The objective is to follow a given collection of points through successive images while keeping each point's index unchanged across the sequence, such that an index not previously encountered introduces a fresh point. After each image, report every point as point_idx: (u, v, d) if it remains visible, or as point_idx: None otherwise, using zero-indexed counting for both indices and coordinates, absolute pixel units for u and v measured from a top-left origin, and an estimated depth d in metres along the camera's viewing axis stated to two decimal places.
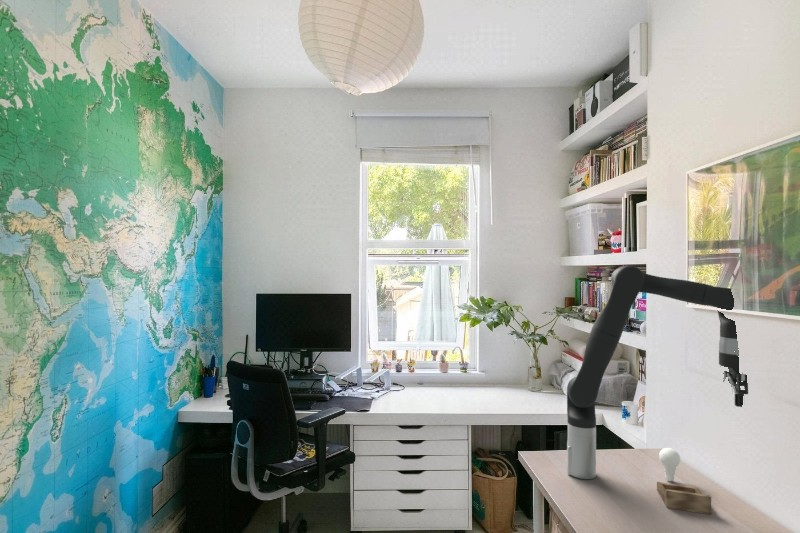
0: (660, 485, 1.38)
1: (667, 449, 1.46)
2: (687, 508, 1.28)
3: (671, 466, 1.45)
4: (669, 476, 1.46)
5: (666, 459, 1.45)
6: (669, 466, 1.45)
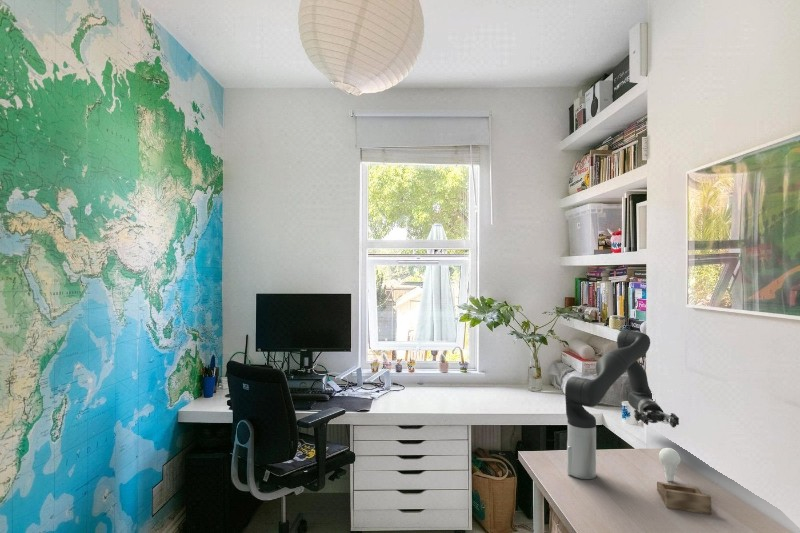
0: (660, 485, 1.38)
1: (667, 449, 1.46)
2: (687, 508, 1.28)
3: (671, 466, 1.45)
4: (669, 476, 1.46)
5: (666, 459, 1.45)
6: (669, 466, 1.45)
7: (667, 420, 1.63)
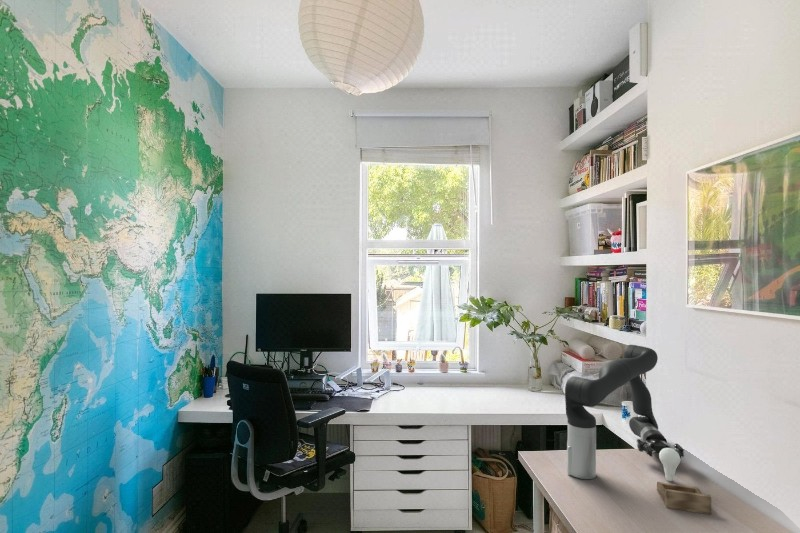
0: (660, 485, 1.38)
1: (667, 449, 1.46)
2: (687, 508, 1.28)
3: (671, 466, 1.45)
4: (669, 476, 1.46)
5: (666, 459, 1.45)
6: (669, 466, 1.45)
7: None
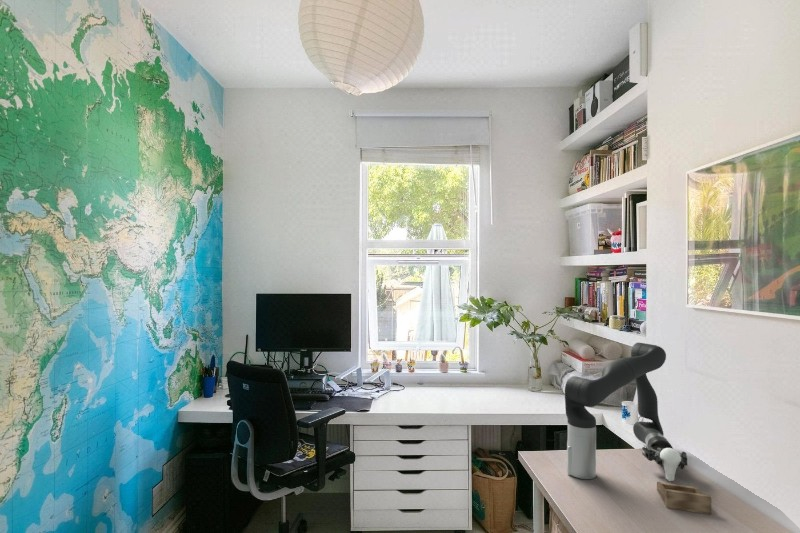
0: (660, 485, 1.38)
1: (668, 449, 1.46)
2: (687, 508, 1.28)
3: (671, 466, 1.44)
4: (669, 476, 1.45)
5: (667, 459, 1.45)
6: (669, 466, 1.45)
7: None
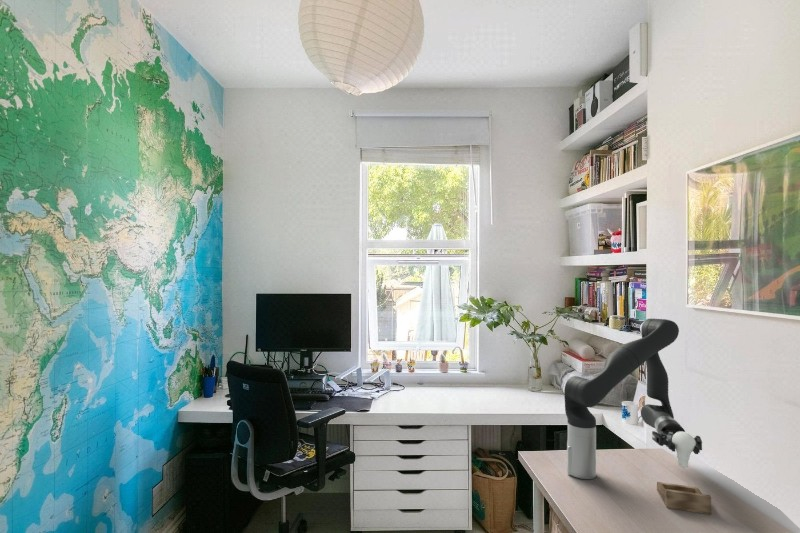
0: (660, 485, 1.38)
1: (681, 433, 1.33)
2: (687, 508, 1.28)
3: (685, 451, 1.31)
4: (683, 462, 1.33)
5: (680, 444, 1.31)
6: (683, 451, 1.32)
7: None
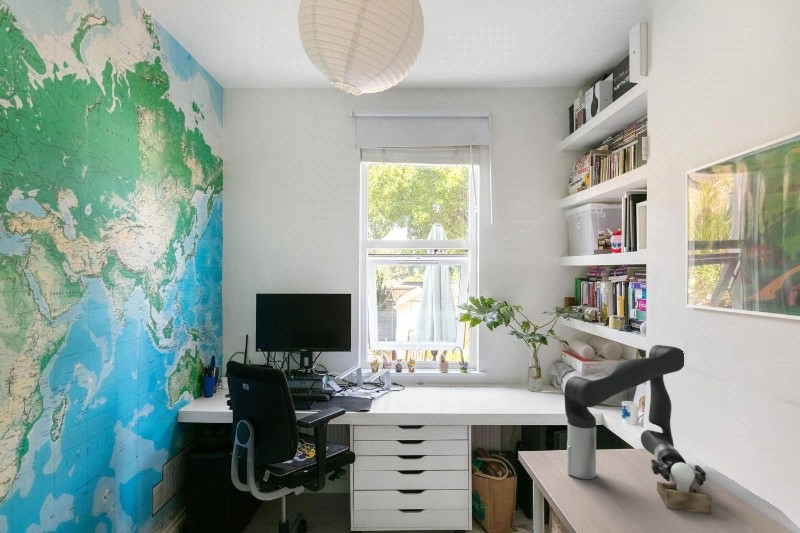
0: (660, 485, 1.38)
1: (680, 464, 1.33)
2: (687, 508, 1.28)
3: (684, 483, 1.31)
4: None
5: (679, 475, 1.31)
6: (682, 483, 1.32)
7: None
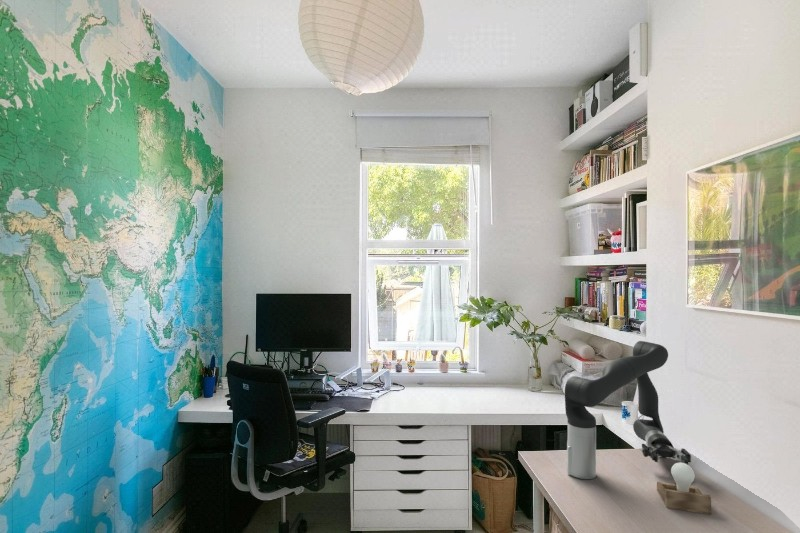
0: (660, 485, 1.38)
1: (680, 464, 1.33)
2: (687, 508, 1.28)
3: (684, 483, 1.31)
4: None
5: (680, 475, 1.31)
6: (682, 483, 1.32)
7: (678, 457, 1.50)
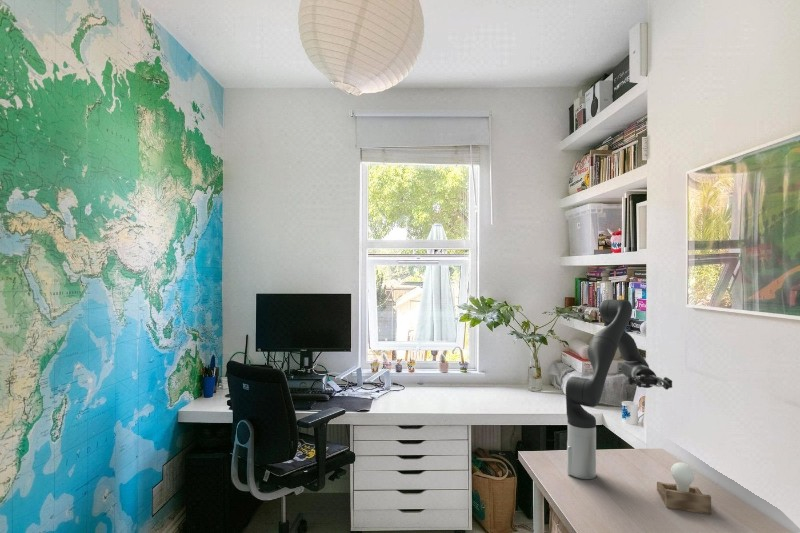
0: (660, 485, 1.38)
1: (680, 464, 1.33)
2: (687, 508, 1.28)
3: (684, 483, 1.31)
4: None
5: (680, 475, 1.31)
6: (682, 483, 1.32)
7: (660, 383, 1.60)
